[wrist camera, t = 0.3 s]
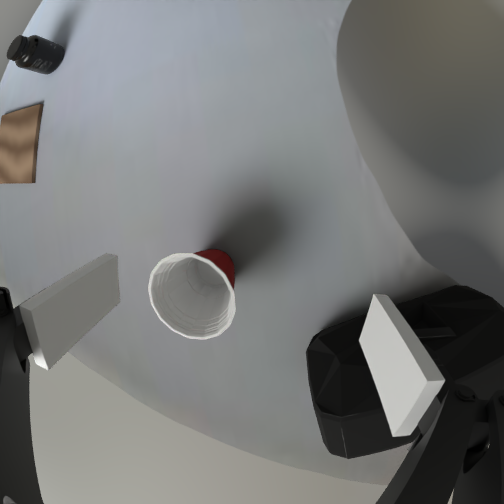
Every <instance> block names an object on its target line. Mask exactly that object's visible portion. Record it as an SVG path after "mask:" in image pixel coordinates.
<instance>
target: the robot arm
mask: <svg viewBox="0 0 504 504" xmlns="http://www.w3.org/2000/svg"><path fill="white" fill-rule="evenodd" d="M119 303H120V292H119V277H118V255H113V254H107V253H106V254H104V255H102V256H100V257H98V258H97V259H95V260H93V261H91V262H90V263H88V264H86V265H84V266H83V267H81V268H79V269H77V270H76V271H74V272H72V273H71V274H69V275H67V276H66V277H64V278H62V279H61V280H59V281H57V282H56V283H54V284H52V285H51V286H49V287H47V288H45V289H44V290H42V291H40V292H39V293H38V294H36V295H34V296H32V297H31V298H29V299H28V300H26V301H25V302H23V303H21V304H20V305H18V306H17V307H15V308H14V309H13V305H12V301H11V297H10V292H9V290H8V289H7V288H5V287H0V504H44V503H43V500H42V497H41V493H40V488H39V484H38V478H37V473H36V467H35V461H34V454H33V446H32V437H31V425H30V405H29V373H30V363H29V359H28V356H29V355H30V354H31V353H33V356H34V359H35V362H36V364H37V365H39V366H41V367H43V368H45V369H47V370H49V369H50V368H51V367H52V366H53V365H54V364H55V363H56V362H57V361H59V360H60V359H61V358H62V356H64V355H65V354H66V353H67V352H68V351H69V350H70V349H71V348H72V347H73V346H74V345H75V344H76V343H77V342H78V341H79V340H80V339H81V338H82V337H83V336H84V335H85V334H86V333H87V332H88V331H90V330H91V329H92V328H93V327H94V326H95V325H96V324H97V323H98V322H99V321H100V320H101V319H102V318H103V317H105V316H106V315H107V314H108V313H109V312H110V311H111V310H112V309H113V308H114V307H115V306H117V305H118V304H119ZM359 342H360V344H361V347H362V350H363V352H364V355H365V358H366V360H367V363H368V366H369V368H370V371H371V374H372V376H373V379H374V382H375V385H376V388H377V390H378V393H379V396H380V399H381V402H382V405H383V408H384V411H385V414H386V417H387V420H388V423H389V426H390V429H391V433H392V436H393V437H397V436H407V435H411V433H412V432H413V430H414V429H415V428H416V426H417V425H418V426H419V429H420V431H421V432H420V434H419V435H418V436H417V438H416V439H415V440H414V441H413V443H412V444H411V445H410V447H409V448H408V449H407V450H409V452H408V454H407V456H406V458H405V459H404V461H403V463H402V464H401V466H400V468H399V469H398V471H397V473H396V474H395V476H394V477H393V479H392V480H391V482H390V483H389V485H388V487H387V488H386V489H385V491H384V492H383V494H382V495H381V497H380V498H379V500H378V501H377V502H376V504H447V503H448V501H449V498H450V496H451V494H452V491H453V489H454V492H453V499H452V504H504V391H503V390H498V391H495V393H494V394H493V396H492V397H491V399H490V400H482V399H478V397H477V395H476V393H475V392H474V391H473V390H472V389H471V388H469V387H467V386H465V385H462V384H456V383H455V382H454V380H453V379H452V377H451V375H450V374H449V372H448V371H447V369H446V368H445V366H443V363H442V362H441V360H439V357H438V356H437V355H436V353H435V352H434V351H433V350H432V349H431V348H430V347H428V346H427V345H426V344H422V343H421V342H420V340H419V339H418V337H417V336H416V335H415V333H414V332H413V330H412V329H411V327H410V326H409V324H408V323H407V322H406V320H405V319H404V317H403V316H402V315H401V313H400V312H399V310H398V309H397V308H396V306H395V305H394V304H393V302H392V301H391V300H390V298H389V297H388V296H387V295H382V294H373V298H372V301H371V304H370V308H369V311H368V314H367V317H366V321H365V324H364V327H363V330H362V333H361V336H360V339H359ZM489 444H490V445H489ZM488 445H489V448H488Z"/></svg>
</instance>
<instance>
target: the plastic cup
mask: <svg viewBox="0 0 504 504" xmlns="http://www.w3.org/2000/svg"><path fill="white" fill-rule="evenodd" d="M234 274H235V272H234V264H233V262H232V260H231V258H230V257H229V256H228V255H227V254H226V253H225V252H223V251H220V250H217V249H208V250H205V251H200V252H196V253H174V254H172V255H170V256H168V257H166V258H164V259H162V260H160V261H159V263H158V264H157V265H156V267H155V268H154V269H153V271H152V272H151V276H150V281H149V286H148V290H149V295H150V300H151V305H152V306H153V308H154V310H155V312H156V313H157V315H158V317H159V319H160V320H161V321H162V322H163V323H165V324H166V325H167V326H168V327H169V328H170V329H171V330H172V331H174V332H176V333H178V334H180V335H182V336H184V337H187V338H192V339H201V340H205V339H209V338H212V337H215V336H219V335H220V334H221V333H222V332H223V331H224V330H226V329H227V328H228V327H229V326H230V324H231V322H232V319H233V316H234V314H235V311H236V305H235V294H234V282H235V277H234Z"/></svg>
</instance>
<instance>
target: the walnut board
mask: <svg viewBox="0 0 504 504" xmlns="http://www.w3.org/2000/svg"><path fill="white" fill-rule="evenodd" d="M42 109H43V104H38V105H35V106H31V107H28V108H24V109H21V110H18V111H15V112H12V113H9V114H6V115H3V116H2V118H1V125H0V184H2V183H35V173H36V158H37V146H38V137H39V129H40V122H41V115H42Z"/></svg>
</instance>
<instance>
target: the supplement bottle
mask: <svg viewBox="0 0 504 504" xmlns="http://www.w3.org/2000/svg"><path fill="white" fill-rule="evenodd" d="M63 55H64V49H63V47H62V46H61V45H59V44H56V43H54V42H52V41H49V40H47V39H44V38H42V37H40V36H37V35H32V36H30V37H24V36H22V35H19V36H18V37H16V38H15V39H14V40H13V42H12V43H11V45H10V47H9V49H8V52H7V58H8V59H10V60H12V61H15V63H16V65H17V66H18V67H20V68H24V69H27V70H31V71H34V72H38V73H41V74H50V73H52V72H53V71H54V70H56V68H57V67H58V66H59V65H60V63H61V61H62V59H63Z"/></svg>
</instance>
